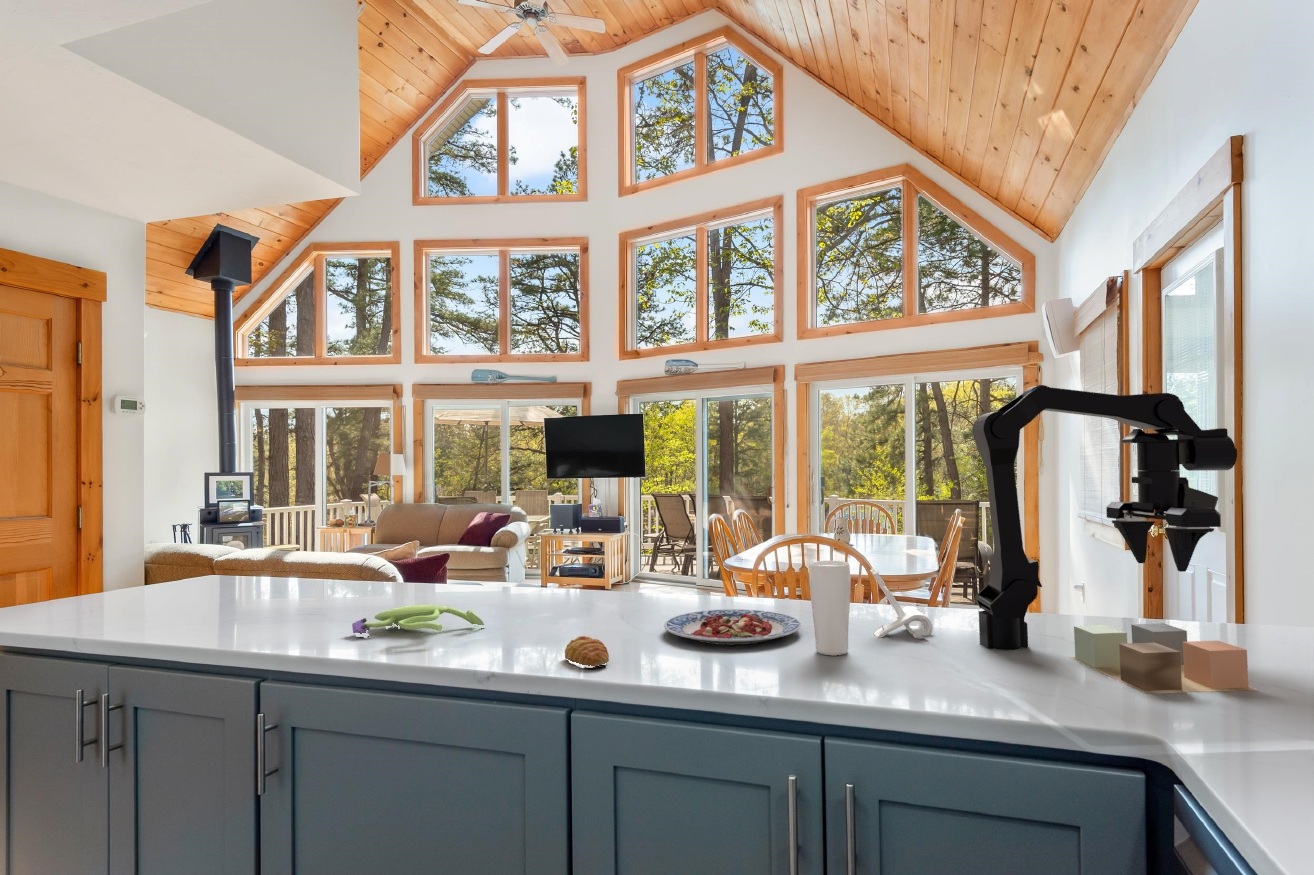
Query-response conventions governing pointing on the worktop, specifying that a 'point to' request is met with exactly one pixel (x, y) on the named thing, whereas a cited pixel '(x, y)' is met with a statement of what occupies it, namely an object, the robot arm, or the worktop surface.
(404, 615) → the figurine
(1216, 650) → the terracotta block
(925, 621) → the plastic part
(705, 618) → the ceramic plate
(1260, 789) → the worktop surface
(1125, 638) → the sage block
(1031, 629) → the worktop surface
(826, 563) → the drinking glass
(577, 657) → the pastry
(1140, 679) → the walnut block
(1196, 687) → the oak board
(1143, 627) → the grey block
